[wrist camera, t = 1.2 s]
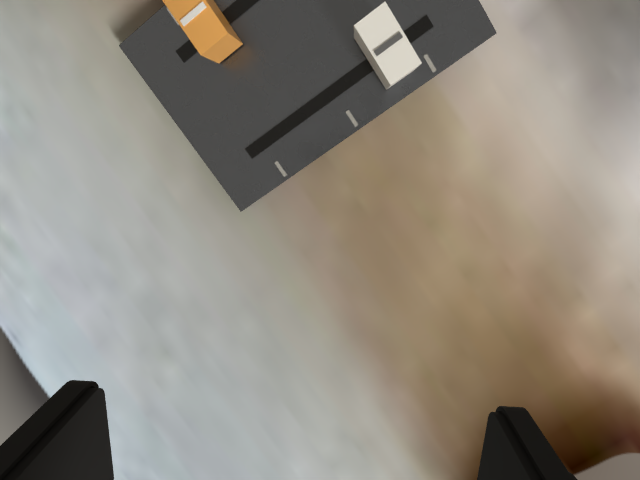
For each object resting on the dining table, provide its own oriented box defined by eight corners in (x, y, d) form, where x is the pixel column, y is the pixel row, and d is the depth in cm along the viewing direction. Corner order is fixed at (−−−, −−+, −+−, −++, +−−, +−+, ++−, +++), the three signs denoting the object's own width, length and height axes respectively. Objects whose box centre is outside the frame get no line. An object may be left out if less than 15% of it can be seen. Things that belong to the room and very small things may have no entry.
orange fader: (206, -10, 31) (185, -30, 27) (243, 44, 32) (227, 32, 28) (182, 10, 31) (158, -6, 27) (218, 63, 32) (200, 55, 28)
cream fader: (381, 16, 30) (385, 0, 27) (413, 70, 31) (422, 62, 27) (353, 37, 31) (353, 24, 27) (386, 90, 32) (391, 85, 28)
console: (376, -163, 30) (378, -184, 28) (488, 38, 32) (497, 32, 30) (131, 49, 35) (118, 45, 33) (246, 207, 37) (240, 211, 35)
